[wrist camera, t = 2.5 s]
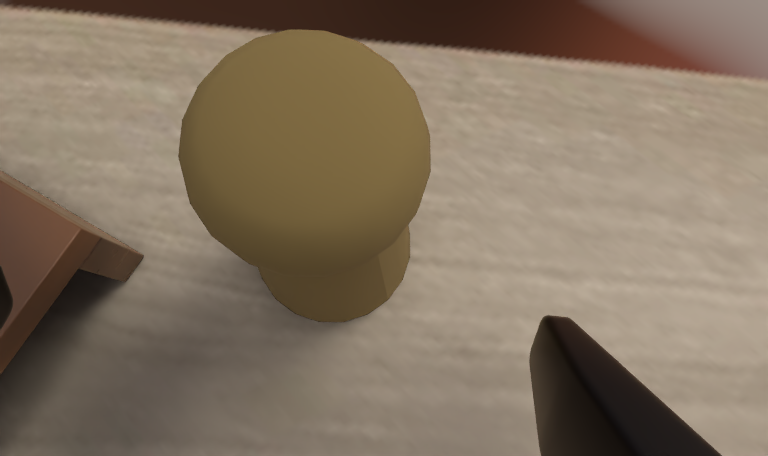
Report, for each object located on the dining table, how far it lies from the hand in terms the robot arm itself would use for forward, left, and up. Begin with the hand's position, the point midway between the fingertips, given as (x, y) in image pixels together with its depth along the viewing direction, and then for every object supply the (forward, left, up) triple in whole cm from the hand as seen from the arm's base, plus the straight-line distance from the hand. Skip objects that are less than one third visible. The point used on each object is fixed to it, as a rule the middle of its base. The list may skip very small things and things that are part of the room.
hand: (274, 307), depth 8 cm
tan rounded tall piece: (+3, +1, -11) cm, 12 cm away
